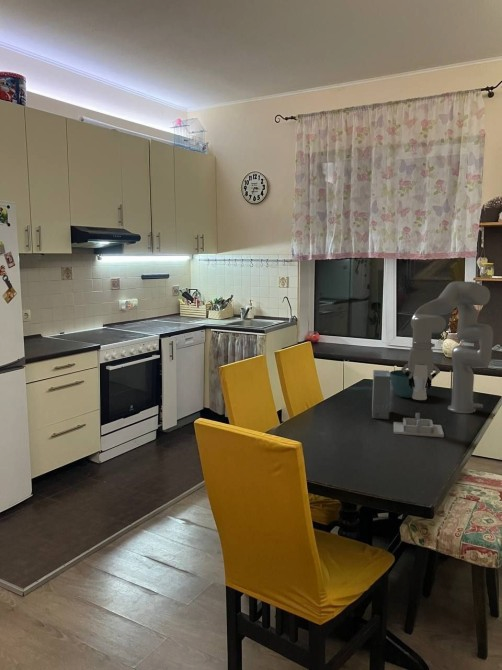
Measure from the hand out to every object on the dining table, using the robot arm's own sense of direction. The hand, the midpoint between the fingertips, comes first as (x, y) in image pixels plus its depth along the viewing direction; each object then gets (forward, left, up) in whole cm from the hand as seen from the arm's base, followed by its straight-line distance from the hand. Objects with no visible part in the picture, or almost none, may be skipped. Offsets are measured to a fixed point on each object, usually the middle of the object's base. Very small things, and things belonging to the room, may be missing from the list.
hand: (419, 387), depth 235 cm
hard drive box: (+16, -21, -19) cm, 32 cm away
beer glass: (0, 0, -5) cm, 5 cm away
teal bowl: (+3, -61, -19) cm, 64 cm away
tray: (0, 0, -19) cm, 19 cm away
